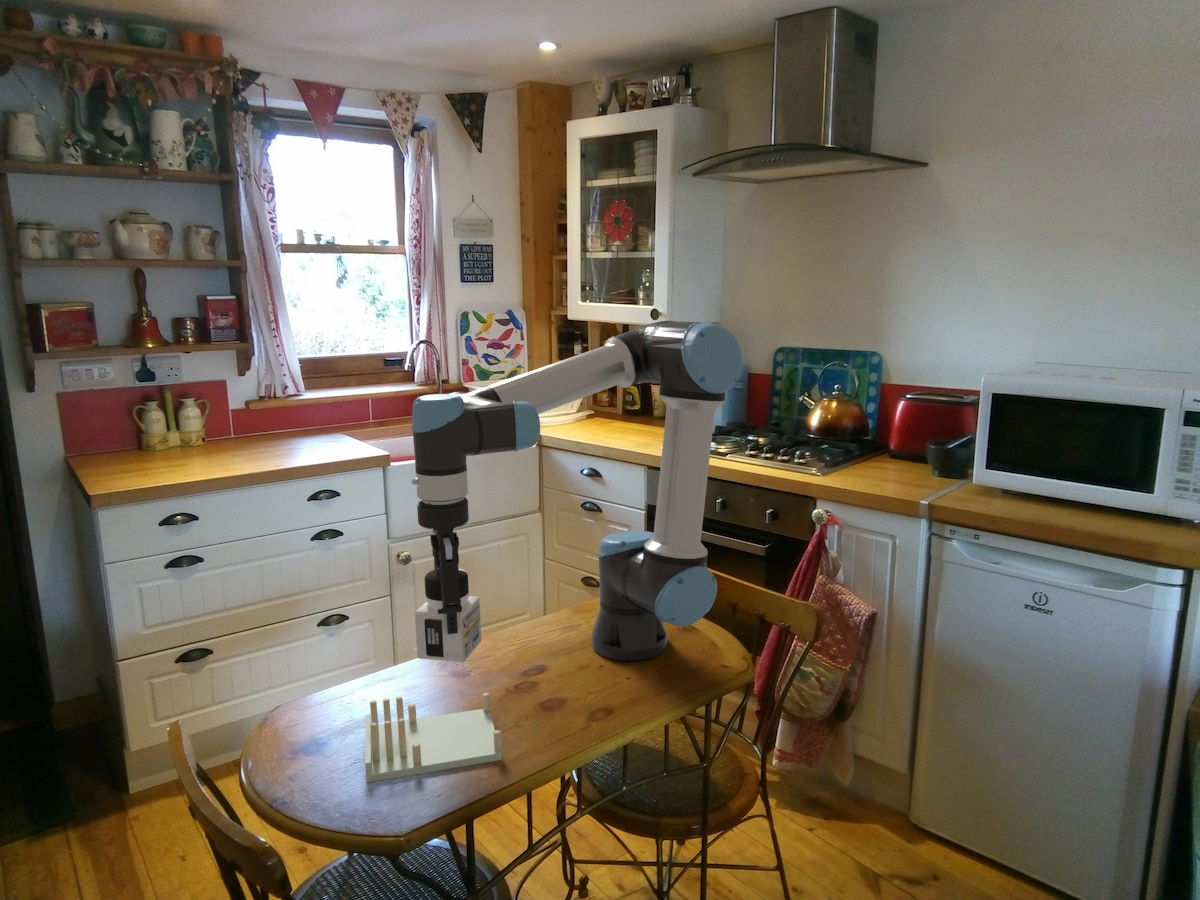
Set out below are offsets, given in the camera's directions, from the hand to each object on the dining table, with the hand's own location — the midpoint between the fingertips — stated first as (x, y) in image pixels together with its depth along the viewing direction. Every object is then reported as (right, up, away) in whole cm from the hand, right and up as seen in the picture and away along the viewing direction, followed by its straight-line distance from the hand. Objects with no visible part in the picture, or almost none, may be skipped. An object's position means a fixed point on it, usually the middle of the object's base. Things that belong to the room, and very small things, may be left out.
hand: (449, 636), depth 127 cm
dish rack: (-3, -18, +3) cm, 18 cm away
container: (0, -2, 0) cm, 2 cm away
